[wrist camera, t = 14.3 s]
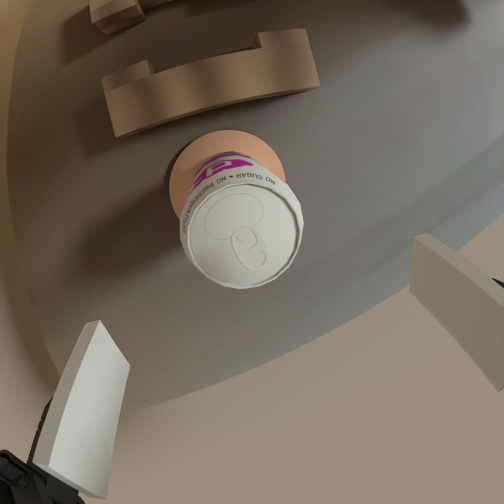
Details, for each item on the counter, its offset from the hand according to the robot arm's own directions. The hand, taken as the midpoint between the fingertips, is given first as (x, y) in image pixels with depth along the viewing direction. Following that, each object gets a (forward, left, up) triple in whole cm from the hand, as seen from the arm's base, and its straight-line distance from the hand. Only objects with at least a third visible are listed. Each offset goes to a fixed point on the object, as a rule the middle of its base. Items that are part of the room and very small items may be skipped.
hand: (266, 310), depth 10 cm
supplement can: (0, 0, -23) cm, 23 cm away
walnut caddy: (-1, -19, -23) cm, 30 cm away
